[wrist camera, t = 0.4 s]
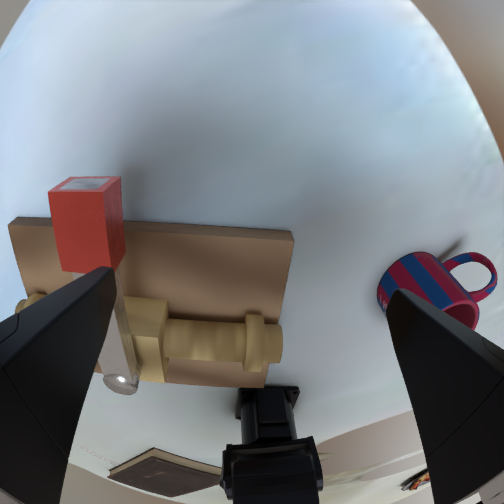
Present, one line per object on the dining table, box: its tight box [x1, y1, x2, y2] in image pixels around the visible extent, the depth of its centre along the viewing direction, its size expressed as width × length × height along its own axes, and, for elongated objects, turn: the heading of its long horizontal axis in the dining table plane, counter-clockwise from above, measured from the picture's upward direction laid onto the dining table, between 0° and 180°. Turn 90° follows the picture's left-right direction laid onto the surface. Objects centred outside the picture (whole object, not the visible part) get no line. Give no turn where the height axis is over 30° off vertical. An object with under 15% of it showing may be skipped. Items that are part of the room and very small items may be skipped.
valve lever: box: [48, 177, 142, 395], centre depth 15 cm, size 14×3×2 cm, turn 174°
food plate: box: [401, 471, 430, 491], centre depth 64 cm, size 25×23×4 cm
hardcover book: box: [107, 447, 222, 497], centre depth 44 cm, size 16×23×2 cm
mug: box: [377, 252, 497, 330], centre depth 21 cm, size 7×10×7 cm
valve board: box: [8, 217, 294, 388], centre depth 22 cm, size 16×22×6 cm
